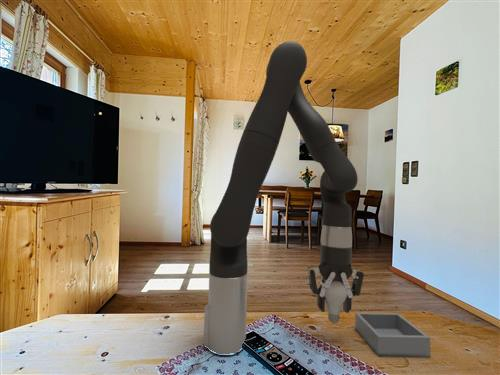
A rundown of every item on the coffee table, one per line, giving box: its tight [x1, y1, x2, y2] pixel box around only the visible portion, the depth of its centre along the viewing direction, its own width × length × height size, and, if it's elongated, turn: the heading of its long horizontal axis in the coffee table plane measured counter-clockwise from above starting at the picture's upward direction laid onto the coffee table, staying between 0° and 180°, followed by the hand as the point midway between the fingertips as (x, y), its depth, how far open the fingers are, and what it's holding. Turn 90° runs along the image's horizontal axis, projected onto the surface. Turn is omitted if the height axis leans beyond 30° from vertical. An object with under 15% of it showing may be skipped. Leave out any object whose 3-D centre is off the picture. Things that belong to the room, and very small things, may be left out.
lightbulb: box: [324, 281, 347, 324], centre depth 63 cm, size 6×6×11 cm
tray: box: [354, 312, 431, 358], centre depth 63 cm, size 12×12×4 cm
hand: (334, 310), depth 63 cm, fingers closed on lightbulb, 5 cm apart
